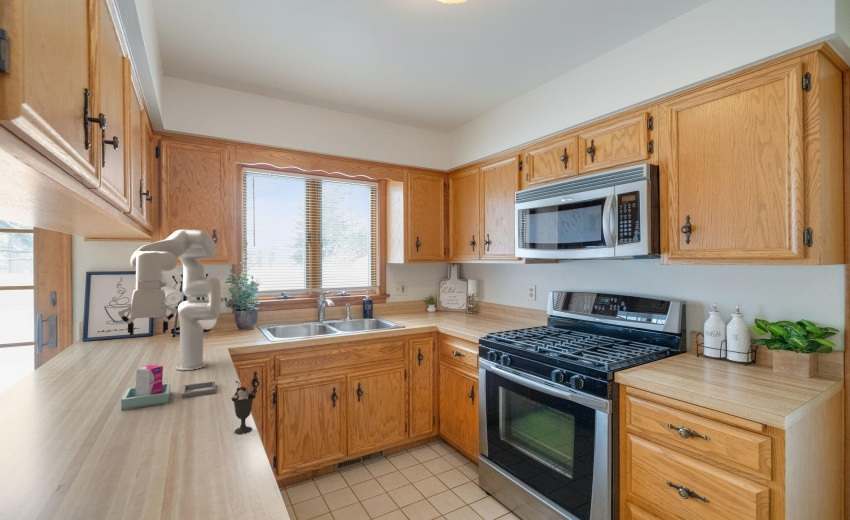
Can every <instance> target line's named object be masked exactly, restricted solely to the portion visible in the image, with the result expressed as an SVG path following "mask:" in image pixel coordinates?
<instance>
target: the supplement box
mask: <svg viewBox="0 0 850 520" xmlns="http://www.w3.org/2000/svg"><path fill="white" fill-rule="evenodd" d="M163 369H164V367H163V365H155V364H148V365H145V366H141V367H138V368H136V373H135V376H136V377H135V387H136V395H135V397H139V396H146V395H153V394H161V393H162V384H163V375H164V374H163V371H164V370H163Z"/></svg>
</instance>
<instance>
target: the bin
mask: <svg viewBox="0 0 850 520" xmlns="http://www.w3.org/2000/svg"><path fill="white" fill-rule="evenodd" d="M171 385H172V384H171V382H168V383H162V393H161V394H153V395H146V396H139V397H135V395H136V386H135V387H129V388H127V389H126V391H125V392H124V394H123V396H122V398H121V407H120V408H121V409H120V410H121V411H127V410H133V408H134V409H140V408H139V407H141V408H145V407H146V406H148V407H153V405H154V406H161V405H167V403H168V404H169V401H170V397H171V392H172V391H171V390H172V389H171V388H172V386H171Z"/></svg>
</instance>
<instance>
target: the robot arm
mask: <svg viewBox="0 0 850 520" xmlns="http://www.w3.org/2000/svg"><path fill="white" fill-rule="evenodd" d="M217 250H218V249H217V244H216V242H215V240H214V239H213V238H212V237H211V235H210V234H209V233H208V232H207V231H205V230H202V229H178V230H176V231H174V232H173V233H171V234H170V235H168V236H167V238H166V239H163V240H162V239H161V240H158V241H154V242H151V243H148V244H144V245H142V246H140V247H139V248H137V249H136V250H135V251H134V252H133V253H132V255H131V257H130V265H131V267H132V269H134V270H135V289H134V290H133V291H132V295H131V302H130V304H131V305H129V306H128V307H126V308H124V309H121V310H119V311H118V312H117V314H118V315H119V317H120V319H121V320H122V321H124V322H125V323H126V324H127V333H128V334H129V335H130V336H133V335H134V332H135V329H134V328H135V327H134V325H135V323H134V321H135V319H145V318H146V319H148V318H161V319H162V320H163V321H162V333H163V334H166V331H168V330H169V321H170V320H171V319H172V318H173V317H175V314H176V313H177V315H178V323H179V363H178V364H177V365H175V370H176V371H185V370H186V371H193V370H194V369H195V370H199V368H200V369H203V368H205V367H207V365H208V364H207V363H208V362H206V361H204V329H203V328H204V327H203V325H202V324H201V323H200V321H214V320H217V319H218V318H220V315H221V301H222V300H221V298H222V297H221V296H222V285H221V280H220V279H218V278H217V277H214V276H205V266H204V264H203V262H201V260H200V259H213V258H214V257H215V256H216V255H217V252H218V251H217ZM177 258H178V259H179V261H180V263H181V265H182V268H183V271H182V273H183V274H182V293H183V295H184V296H185V297H187V298H208V299H190V300H185V301H181V302H180V303H179V304H178V307H177V308H176V307H174V306H171V305H168V304H166V303H167V302H166V293H165V292H166V291H165V289H164V288H163V287H167V282H164V281H163V280H162V272H170V271H173V270H174V269H175V268H176V267H177V264H178V259H177ZM167 310H169V311H171V313H170V314H169V315H168V316H167V313H166V312H167ZM127 312H130V318H129V317H128V316H127V315H126V314H125V313H127ZM202 367H203V368H202ZM195 370H194V371H195ZM186 371H185V372H186Z"/></svg>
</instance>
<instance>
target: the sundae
mask: <svg viewBox="0 0 850 520" xmlns="http://www.w3.org/2000/svg"><path fill="white" fill-rule="evenodd" d="M235 383H236V384H238V387H236V391H235V392H234V394H233V395H232V397H231V398H230V399H231V401H232V402H233V405H234V413H235V416H236V417H237V418H238V419H239V420H240V427H237V428H236V430H235V429H234V430H235V433H237V434H236V435H243V434H242V433H245V434H248V433H250V432H251V431H252V430H253V428H252V426H247V425H246V419H248V418H249V416H250V415H251V412H252V407H253V402H254V400H255V399H256V394H255V393H254V392H255V389H252V391H251V390H250V388H248V387H244V386H243V385H241V383H240V382H239V381H238V380H235ZM247 432H248V433H247ZM235 433H234V434H235Z"/></svg>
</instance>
